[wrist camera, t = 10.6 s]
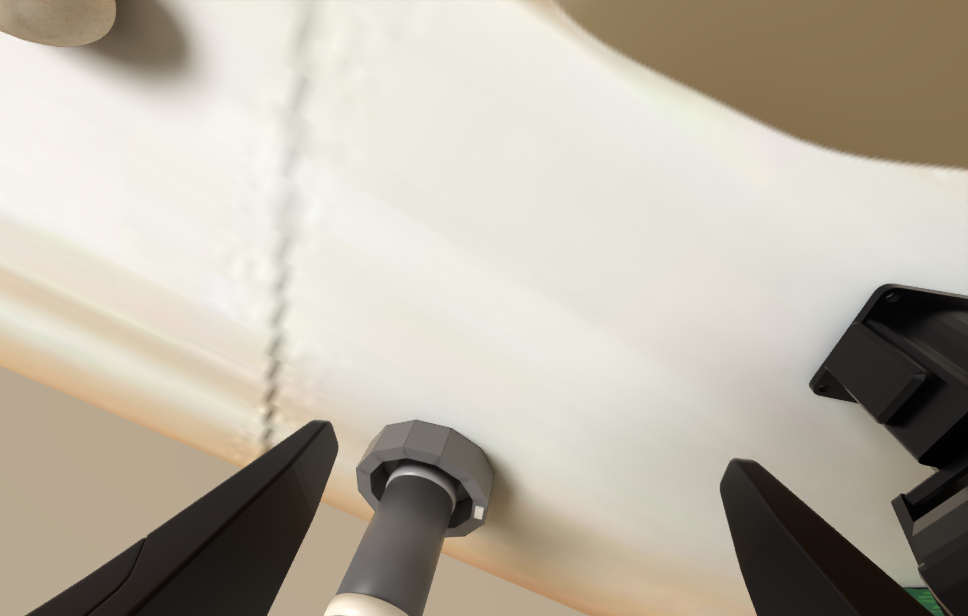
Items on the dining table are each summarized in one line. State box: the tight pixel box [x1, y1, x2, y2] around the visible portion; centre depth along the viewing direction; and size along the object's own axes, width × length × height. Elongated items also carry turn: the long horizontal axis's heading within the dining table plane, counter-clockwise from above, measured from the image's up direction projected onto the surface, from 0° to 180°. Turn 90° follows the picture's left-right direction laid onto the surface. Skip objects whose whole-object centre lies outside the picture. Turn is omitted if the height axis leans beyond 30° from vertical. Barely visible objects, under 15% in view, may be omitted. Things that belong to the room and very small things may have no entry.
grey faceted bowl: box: [356, 420, 494, 537], centre depth 29 cm, size 10×10×3 cm
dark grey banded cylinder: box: [324, 458, 461, 616], centre depth 25 cm, size 5×5×13 cm
